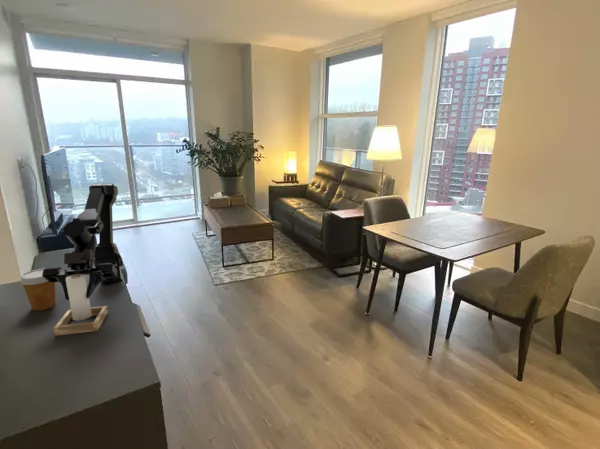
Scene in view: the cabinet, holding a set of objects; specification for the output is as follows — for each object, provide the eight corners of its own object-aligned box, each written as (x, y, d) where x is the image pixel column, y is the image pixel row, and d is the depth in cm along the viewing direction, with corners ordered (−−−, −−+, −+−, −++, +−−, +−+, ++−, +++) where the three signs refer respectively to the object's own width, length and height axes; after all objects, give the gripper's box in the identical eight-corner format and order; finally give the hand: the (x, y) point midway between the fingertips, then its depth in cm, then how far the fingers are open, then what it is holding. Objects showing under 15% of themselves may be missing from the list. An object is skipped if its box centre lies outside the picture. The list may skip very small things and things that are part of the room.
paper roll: (89, 310, 105) (83, 271, 102) (93, 316, 102) (87, 276, 99) (70, 316, 102) (63, 276, 99) (74, 322, 98) (67, 281, 95)
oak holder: (69, 316, 106) (68, 309, 105) (108, 312, 109) (107, 305, 108) (55, 335, 96) (53, 328, 95) (97, 330, 99) (96, 323, 98)
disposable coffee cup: (67, 300, 117) (62, 268, 114) (45, 314, 108) (38, 279, 105) (42, 299, 118) (36, 267, 115) (18, 312, 108) (10, 278, 105)
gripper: (38, 242, 97) (27, 293, 90) (109, 238, 102) (104, 286, 95) (54, 258, 107) (45, 305, 99) (119, 254, 112) (114, 298, 104)
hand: (77, 299), depth 99 cm, fingers closed on paper roll, 5 cm apart
